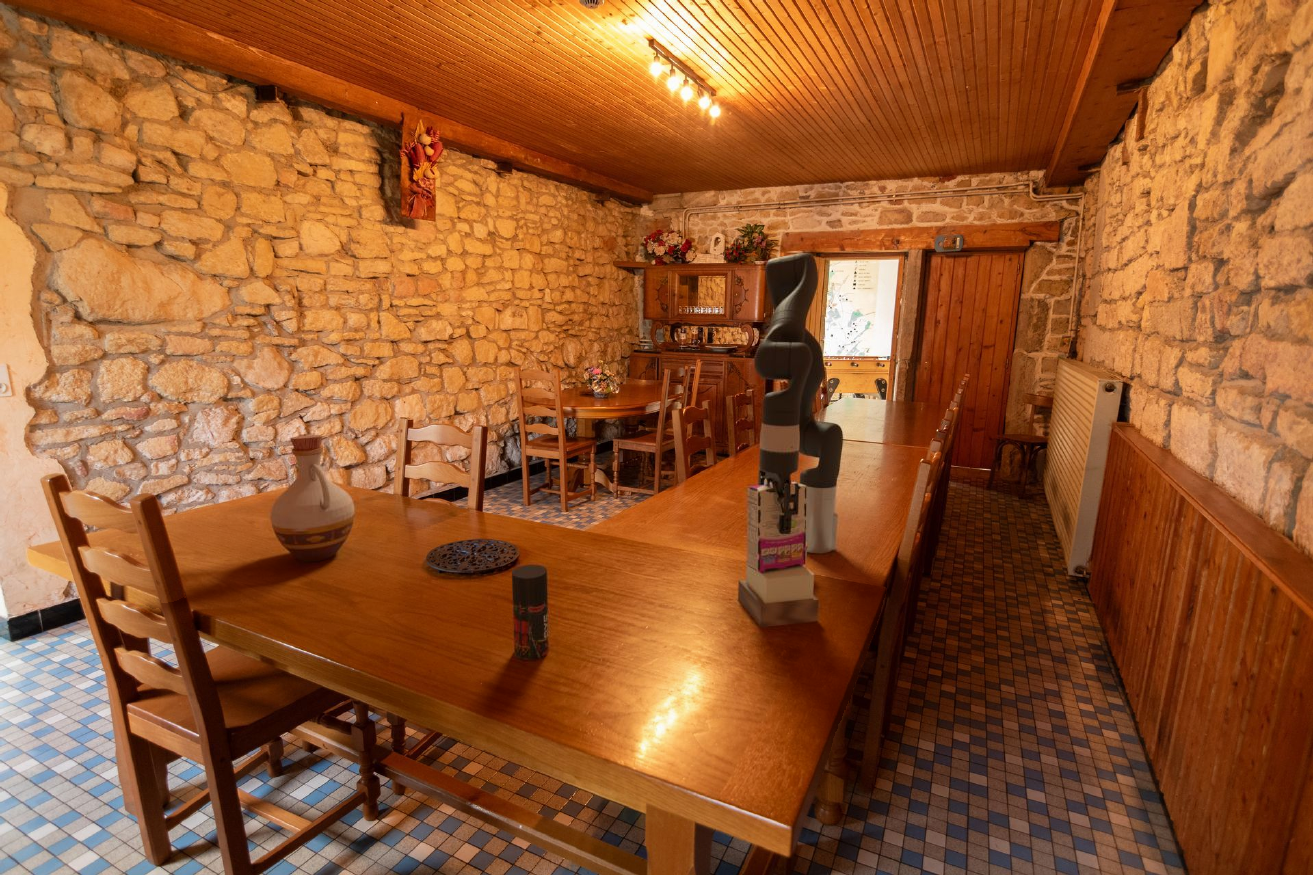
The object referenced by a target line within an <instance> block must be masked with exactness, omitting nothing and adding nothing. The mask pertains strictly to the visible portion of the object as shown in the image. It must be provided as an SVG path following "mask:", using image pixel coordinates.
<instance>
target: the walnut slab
mask: <svg viewBox="0 0 1313 875" xmlns="http://www.w3.org/2000/svg"><path fill="white" fill-rule="evenodd" d="M737 591H738V592H737V594H738V595H737V601H738V602H739V603H740V605H742V607H743V608H744V609H745V610H746V612H747V613H748V614H749V615H750V617H751V618H752V619H753V621H755V623H756V624H757V626H759V628H765V627H775V626H784V625H793V624H802V623H812V622H818V618H819V616H818V615H819V602H820V601H819V600H820V599H818V597H817V596H815V595H814V594H813V599H803V600H794V601H784V602H774V603H764V601H763V600H762V599H761V598H760V597H759V596H758V595H757V594H756V593H755V592H754V591H753V590H752V588H751V587H750V586H749V585H748V584H747V583H746V579H738V589H737Z"/></svg>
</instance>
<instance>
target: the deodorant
mask: <svg viewBox="0 0 1313 875" xmlns="http://www.w3.org/2000/svg"><path fill="white" fill-rule="evenodd" d="M511 582H512V585H511V586H512V587H511V588H512V591H511V593H512V610H513V611H512V619H513V622H512V623H513V644H514V645H513V648H514V651H513V652H514V656H515V658H517V659H518V660H521V661H531V662H532V661H537V660H540V659H542V658H544V657H546V656H547V655H548V654H549V652H550V650H549V648H550V645H549V644H550V642H549V641H550V640H549V604H548V601H549V596H548V568H546V567H545V566H543V565H541V564H525V565H524V564H523V565H520V566H517V567H515V568H514V569H513V570H512V571H511Z"/></svg>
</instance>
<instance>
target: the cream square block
mask: <svg viewBox="0 0 1313 875" xmlns="http://www.w3.org/2000/svg"><path fill="white" fill-rule="evenodd" d="M745 568H746V571H745V572H746V574H745V580H746V583H747V584H748V585H749V586H750V587H751V588H752V590H753V591H754V592H755V593H756V594H757V595H758V596H759V597H760V598H761V599H762V600H763V601H764V603H774V602H784V601H794V600H803V599H813V595H814V587H815V586H814V584H815V574H814V573H813V572H812V571H811V570H810V569H808V568H807V567H806V565H804V566H803V565H801V566H795V567H790V568H784V569H778V570H772V571H765V572H758V571H756V570H754V569H752V568H750V567H749V566H748V565H747V564H746V567H745Z"/></svg>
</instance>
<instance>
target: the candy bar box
mask: <svg viewBox="0 0 1313 875" xmlns="http://www.w3.org/2000/svg"><path fill="white" fill-rule="evenodd" d="M791 483H792V484H793V483H798V485H799V504H798V515H792V519H791V533H790V534H780V533H779V515H780V513H779V508H778V505H776V504H775V501H774V497H773V490H772V489H771V488H770V486H765V485H758V484H757V485H751V486H749V485H748V486H747V487H746V488H747V489H746V492H747V494H746V497H747V498H746V501H747V502H746V516H747V517H746V520H747V521H746V523H747V524H746V535H747V536H746V566H747V565H748V566H749V567H750V568H752V569H754V570H756V571H758V572H765V571H772V570H778V569H784V568H790V567H795V566H801V565H804V566H806V561H805V559H807V556H806V492H807V488H806V487H807V486H806V485H803V484H800V482H797V481H791ZM792 505H793V503H792ZM783 508H784V504H783Z"/></svg>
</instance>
